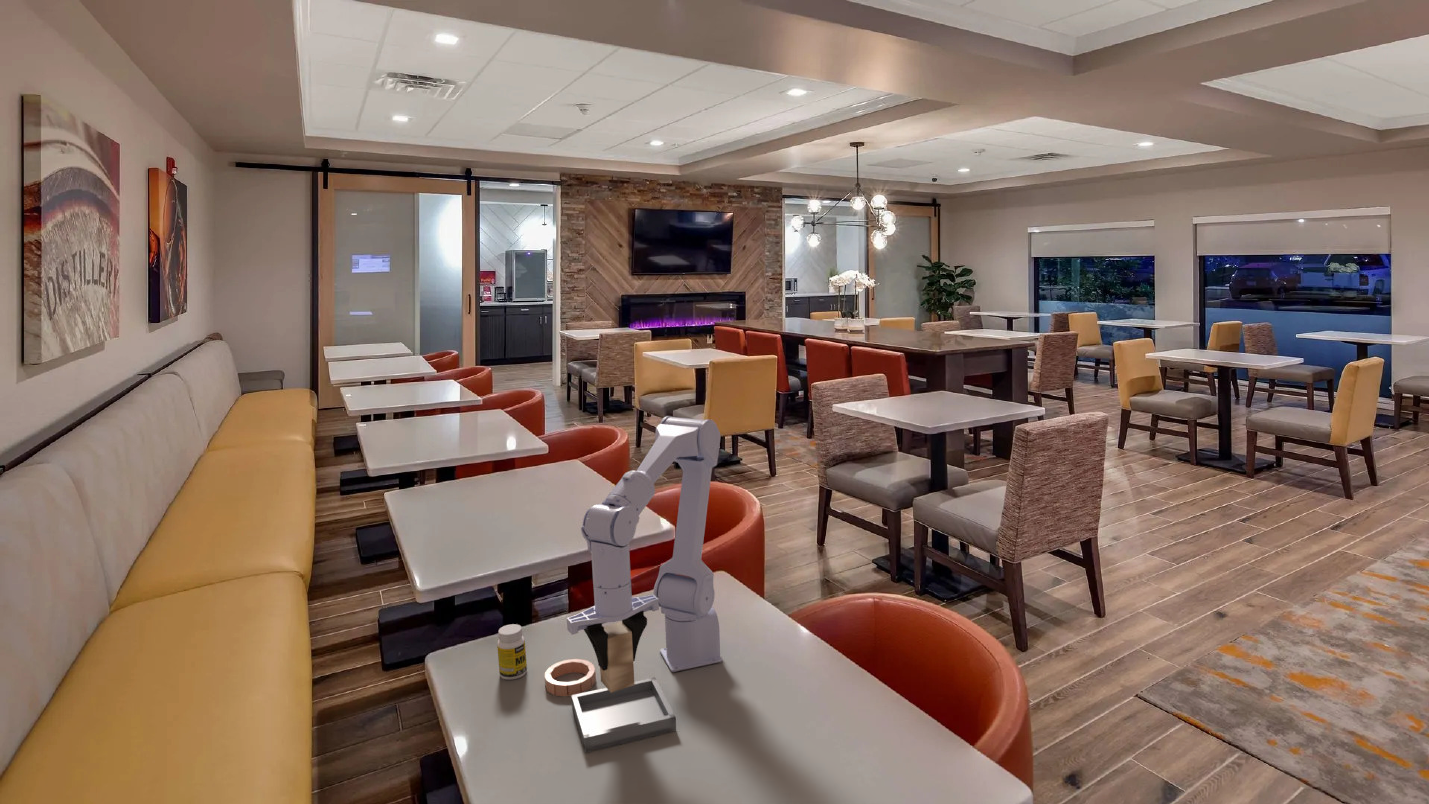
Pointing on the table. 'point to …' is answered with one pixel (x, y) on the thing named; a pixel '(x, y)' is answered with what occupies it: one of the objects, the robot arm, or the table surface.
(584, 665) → the segmented block ring
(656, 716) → the tray
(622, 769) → the table surface
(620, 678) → the oak peg
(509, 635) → the supplement bottle
